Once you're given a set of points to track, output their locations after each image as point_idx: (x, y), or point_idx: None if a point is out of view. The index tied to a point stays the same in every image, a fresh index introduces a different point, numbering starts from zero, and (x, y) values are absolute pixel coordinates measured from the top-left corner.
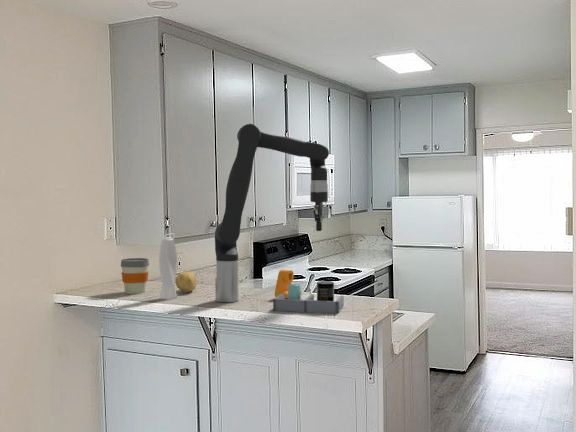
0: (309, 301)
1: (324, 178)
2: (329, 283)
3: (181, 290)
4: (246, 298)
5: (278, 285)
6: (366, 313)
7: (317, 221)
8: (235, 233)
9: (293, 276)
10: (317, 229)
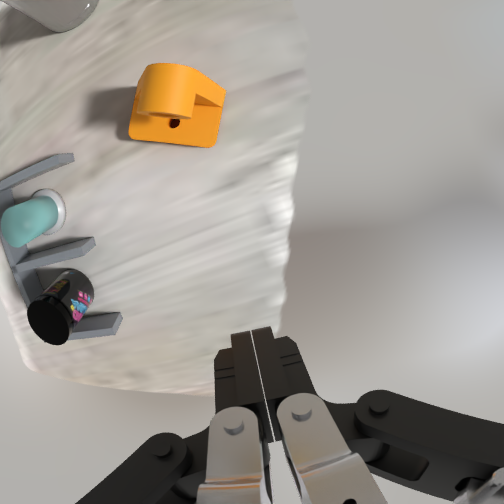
0: (16, 279)
1: None
2: (42, 337)
3: None
4: (117, 19)
5: (138, 86)
6: (90, 372)
7: (196, 442)
8: None
9: (189, 118)
10: (220, 357)
